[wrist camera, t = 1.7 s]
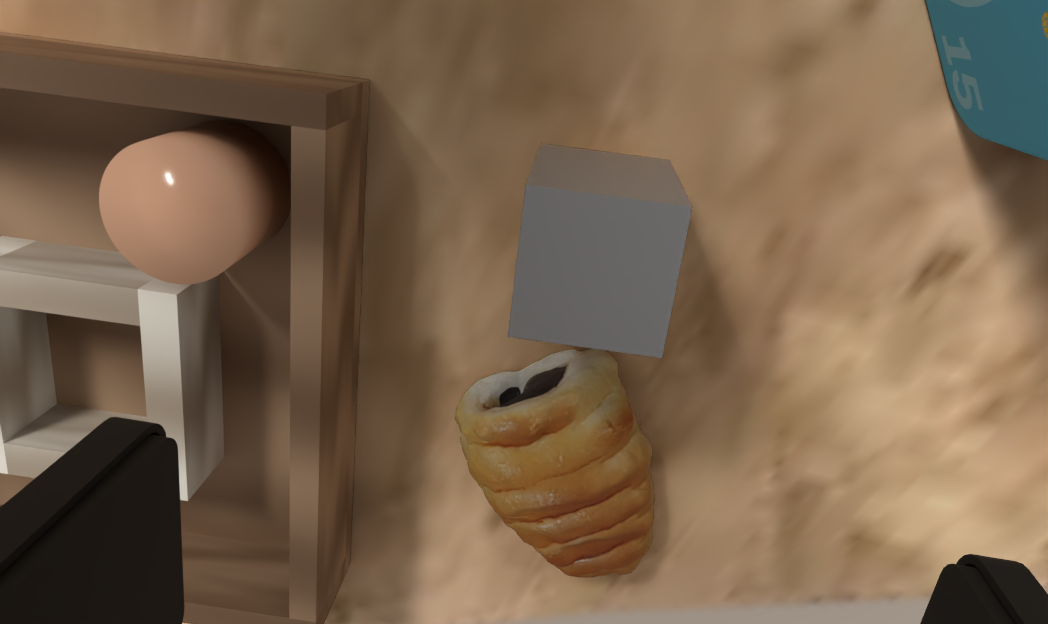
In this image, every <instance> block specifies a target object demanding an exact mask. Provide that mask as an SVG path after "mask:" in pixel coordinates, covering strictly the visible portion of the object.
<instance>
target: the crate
mask: <svg viewBox="0 0 1048 624" xmlns="http://www.w3.org/2000/svg"><path fill="white" fill-rule="evenodd" d="M369 83H370V80H367V79H359V78H351V77H344V76H336V75H328V74H321V73H313V72H305V71H297V70H290V69H282V68H274V67H266V66H259V65H251V64H243V63H235V62H228V61H220V60H212V59H204V58H197V57H189V56H181V55H173V54H166V53H158V52H150V51H143V50H135V49H127V48H119V47H112V46H104V45H96V44H88V43H81V42H73V41H65V40H57V39H50V38H42V37H34V36H26V35H19V34H11V33H3V32H0V507H1V506H2V505H4V504H5V503H6V502H7V501H8V500H10V499H11V498H12V497H13V496H14V495H16V494H17V493H18V492H19V491H20V490H22V489H23V488H24V487H25V486H26V485H28V484H29V483H30V482H31V481H32V480H34V479H35V478H36V477H37V476H39V475H40V474H41V473H42V472H43V471H45V470H46V469H47V468H48V467H49V466H51V465H52V464H53V463H54V462H55V461H57V460H58V459H59V458H60V457H61V456H63V455H64V454H65V453H66V452H67V451H69V450H70V449H71V448H72V447H73V446H75V445H76V444H77V443H78V442H79V441H81V440H82V439H83V438H84V437H86V436H87V435H88V434H89V433H90V432H92V431H93V430H94V429H95V428H96V427H98V426H99V425H100V424H101V423H102V422H104V421H105V420H107V419H109V418H110V417H120V418H126V419H133V420H139V421H145V422H151V423H158V424H160V425H161V426H163V428H164V430H165V432H166V437H169V438H173V439H174V440H175V441H176V443H177V446H178V460H179V485H180V509H181V534H182V559H183V584H184V617H183V623H190V624H324V622H325V620H326V618H327V615H328V613H329V611H330V608H331V606H332V604H333V602H334V599H335V597H336V595H337V592H338V590H339V588H340V586H341V583H342V581H343V579H344V576H345V574H346V572H347V570H348V567H349V565H350V558H351V533H352V508H353V483H354V458H355V433H356V408H357V383H358V358H359V333H360V308H361V283H362V258H363V233H364V208H365V183H366V158H367V133H368V108H369ZM214 120H227V121H233V122H237V123H240V124H243V125H246V126H248V127H250V128H252V129H254V130H255V131H257V132H259V133H260V134H261V135H263V136H264V137H265V138H266V139H268V140H269V141H270V143H271V144H272V145H273V146H274V147H275V148H276V149H277V151H278V152H279V153H280V155H281V157H282V158H283V160H284V162H285V164H286V166H287V168H288V171H289V174H290V178H291V209H290V212H289V215H288V217H287V219H286V221H285V223H284V225H283V226H282V227H281V229H280V230H279V231H278V232H277V233H276V234H275V235H274V236H272V237H271V238H269V239H268V240H267V241H265V242H264V243H262V244H261V245H260V246H258V247H257V248H255V249H254V250H253V251H251V252H250V253H248V254H247V255H246V256H244V257H243V258H241V259H240V260H239V261H237V262H236V263H234V264H233V265H232V266H230V267H229V268H227V269H226V270H225V271H223V272H222V273H220V274H219V275H218V276H216V277H214V278H212V279H210V280H207V281H204V282H201V283H196V284H174V283H169V282H165V281H162V280H159V279H156V278H154V277H152V276H149V275H147V274H146V273H144V272H142V271H141V270H139V269H138V268H136V267H135V266H134V265H133V264H131V263H130V262H129V261H128V260H127V259H126V258H125V257H124V256H123V255H122V254H121V253H120V252H119V250H118V249H117V248H116V246H115V245H114V243H113V242H112V241H111V239H110V237H109V235H108V233H107V231H106V229H105V226H104V224H103V220H102V217H101V213H100V207H99V190H100V184H101V180H102V176H103V174H104V172H105V169H106V168H107V166H108V165H109V163H110V161H111V160H112V159H113V158H114V157H115V156H116V155H117V154H118V153H119V152H120V151H122V150H123V149H124V148H126V147H128V146H130V145H132V144H134V143H137V142H140V141H143V140H146V139H150V138H153V137H156V136H160V135H163V134H166V133H170V132H173V131H176V130H180V129H183V128H187V127H190V126H193V125H197V124H200V123H203V122H208V121H214Z"/></svg>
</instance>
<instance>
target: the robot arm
mask: <svg viewBox="0 0 1048 624" xmlns="http://www.w3.org/2000/svg"><path fill="white" fill-rule="evenodd" d="M183 617H184V584H183V559H182V534H181V509H180V485H179V460H178V446H177V443H176V441H175V440H174V439H173V438H169V437H166V432H165V430H164V428H163V426H161V425H160V424H158V423H151V422H145V421H139V420H133V419H126V418H120V417H110V418H109V419H107V420H105V421H104V422H102V423H101V424H100V425H99V426H98V427H96V428H95V429H94V430H93V431H92V432H90V433H89V434H88V435H87V436H86V437H84V438H83V439H82V440H81V441H79V442H78V443H77V444H76V445H75V446H73V447H72V448H71V449H70V450H69V451H67V452H66V453H65V454H64V455H63V456H61V457H60V458H59V459H58V460H57V461H55V462H54V463H53V464H52V465H51V466H49V467H48V468H47V469H46V470H45V471H43V472H42V473H41V474H40V475H39V476H37V477H36V478H35V479H34V480H32V481H31V482H30V483H29V484H28V485H26V486H25V487H24V488H23V489H22V490H20V491H19V492H18V493H17V494H16V495H14V496H13V497H12V498H11V499H10V500H8V501H7V502H6V503H5V504H4V505H2V506H1V507H0V624H182V622H183ZM921 624H1048V594H1047V593H1046V591H1045V590H1044V589H1043V587H1042V586H1041V585H1040V584H1039V582H1038V581H1037V580H1036V578H1035V577H1034V576H1033V574H1032V573H1031V572H1030V571H1029V569H1027V568H1026V567H1025V566H1024V565H1023V564H1022V563H1019V562H1016V561H1010V560H1004V559H998V558H991V557H985V556H979V555H973V554H968V555H964V556H963V557H962V558H960V559H959V560H958V562H957V564H948V565H947V566H946V567H944V569H943V570H942V572H941V574H940V576H939V579H938V581H937V584H936V586H935V589H934V591H933V594H932V596H931V599H930V601H929V604H928V606H927V609H926V611H925V614H924V616H923V618H922V621H921Z"/></svg>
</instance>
